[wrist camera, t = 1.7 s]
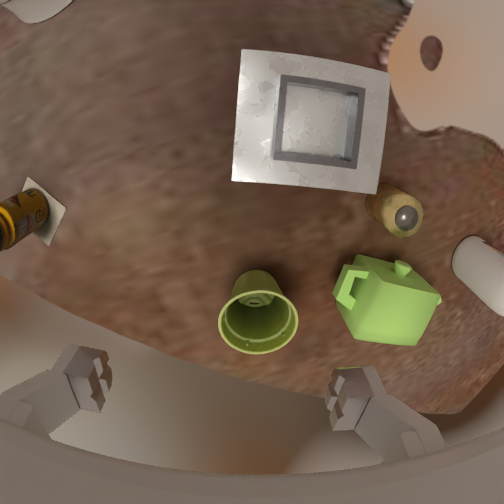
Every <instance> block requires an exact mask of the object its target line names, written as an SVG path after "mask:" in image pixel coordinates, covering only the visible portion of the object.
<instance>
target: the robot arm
mask: <svg viewBox="0 0 504 504" xmlns="http://www.w3.org/2000/svg"><path fill="white" fill-rule="evenodd" d="M72 1H73V0H0V5H2V6H4V7H5V8H7V9H9V10H10V11H12V12H13V13H14V14H15V15H16V16H17V17H18V18H19V19H20V20H21V21H23V22H26V23H37V22H41V21H44V20H46V19H49V18H50V17H52V16H54V15H56V14H57V13H59V12H60V11H61V10H63V9H64V8H65V7H66V6H67V5H68V4H70V3H71V2H72ZM108 360H109V358H108V355H107V352H106V351H103V350H98V349H94V348H89V347H84V346H78V345H74V344H69V345H67V347H66V348H65V350H64V351H63V353H62V354H61V356H60V357H59V359H58V360H57V362H56V363H55V365H54V366H53V368H52V369H51V370H46V371H44V372H42V373H40V374H38V375H36V376H34V377H32V378H30V379H28V380H26V381H24V382H22V383H20V384H18V385H16V386H14V387H12V388H10V389H8V390H6V391H4V392H2V394H1V395H0V504H504V427H503V428H501V429H498V430H496V431H493V432H491V433H488V434H486V435H483V436H481V437H478V438H475V439H473V440H470V441H467V442H464V443H461V444H458V445H455V446H452V447H448V448H447V446H446V444H445V442H444V440H443V438H442V436H441V434H440V432H439V430H438V428H437V426H436V425H435V424H434V423H432V422H431V421H429V420H427V419H426V418H424V417H423V416H421V415H420V414H418V413H417V412H415V411H414V410H412V409H411V408H409V407H408V406H406V405H405V404H403V403H402V402H400V401H399V400H398V399H396V398H395V397H393V396H392V395H387V393H386V391H385V389H384V386H383V384H382V382H381V380H380V378H379V376H378V374H377V372H376V370H375V368H374V367H373V366H362V367H345V368H334V369H333V370H332V373H331V379H332V381H331V382H330V383H329V384H328V385H327V388H326V394H325V401H326V406H327V408H328V409H329V410H330V411H331V414H330V417H329V418H330V421H331V425H332V429H333V431H335V430H352V429H355V431H356V432H357V433H358V434H359V435H360V436H361V437H362V438H363V439H364V440H365V441H366V442H367V443H368V444H369V445H370V446H371V447H372V448H373V449H374V450H375V451H376V452H377V453H378V454H379V455H380V456H381V457H382V458H383V461H382V462H381V464H378V465H373V466H367V467H360V468H353V469H346V470H338V471H329V472H318V473H304V474H283V475H240V474H219V473H206V472H196V471H187V470H179V469H171V468H164V467H157V466H152V465H146V464H140V463H136V462H131V461H126V460H122V459H117V458H113V457H108V456H105V455H100V454H97V453H93V452H90V451H86V450H83V449H79V448H76V447H73V446H69V445H66V444H63V443H60V442H57V441H54V440H52V439H51V438H50V436H49V433H51V432H52V431H54V430H55V429H56V428H57V427H59V426H60V425H61V424H63V423H64V422H65V421H67V420H68V419H69V418H70V417H72V416H73V415H74V414H75V413H77V412H78V411H79V410H80V409H83V410H87V411H92V412H97V413H100V412H101V410H102V408H103V405H104V403H105V397H104V395H105V394H106V393H108V392H109V391H110V388H111V385H112V371H111V368H110V367H109V366H108V365H107V362H108Z"/></svg>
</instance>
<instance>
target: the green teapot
mask: <svg viewBox="0 0 504 504" xmlns="http://www.w3.org/2000/svg"><path fill="white" fill-rule="evenodd" d="M333 295H334V297H335V298H336V306H337V308H338V310H339V312H340V313H341V315H342V317H343V319H344V321H345V323H346V324H347V326H348V328H349V330H350V332H351V334H352V335H353V337H354V339H358V340H364V341H371V342H378V343H386V344H395V345H408V346H415V345H416V343H417V342H418V340H419V339H420V337H421V336H422V334H423V332H424V330H425V329H426V327H427V325H428V323H429V321H430V319H431V317H432V314H433V312H434V310H435V308H436V306H437V305H438V304H440V303H441V302H442V300H441V296H440V294H439V293H438V292H437V291H436V290H435V289H434V288H433V287H432V286H431V285H430V284H429V283H427V282H426V281H425V280H424V279H423V278H422V277H421V276H420V275H419V274H417V273H416V272H415V271H414V270H413V269H412V267H411V266H410V265H409V264H407V263H405V262H403V261H400V260H395V263H391V262H387V261H384V260H380V259H376V258H372V257H368V256H364V255H360V254H357V255H356V257H355V259H354V261H353V263H352V265H347V264H344V265H343V268H342V271H341V273H340V275H339V278H338V280H337V283H336V285H335V288H334V290H333Z"/></svg>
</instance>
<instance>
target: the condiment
mask: <svg viewBox="0 0 504 504" xmlns="http://www.w3.org/2000/svg"><path fill="white" fill-rule="evenodd" d="M50 209H51V210H50ZM65 210H66V208H65V207H64V206H63V205H62V204H60V203H59V202H58V201H56V200H55V199H54V198H53V197H52V196H51V195H49V194H48V193H47V192H46V191H45V190H44V189H43V188H41V187H40V186H39V185H38V184H37V183H36V182H34V181H33V180H32V179H31V178H29V177H27V179H26V182H25V185H24V187H23V190H22V192H21V193H18V194H16V195H14V196H12V197H10V198H8V199H6V200H4V201H2V202H0V251H2V250H6V249H9V248H11V247H12V246H14V245H15V244H16V243H18V242H19V241H20V240H22V239H23V238H25V237H26V236H28V235H29V234H30V233H32V232H33V233H34V234H35V235H37V236H38V237H39V238H40V239H42V241H43V242H44V243H46V244H47V245H48V246H49V245H50V243H51V241H52V239H53V236H54V234H55V232H56V230H57V227H58V225H59V223H60V221H61V219H62V217H63V214H64V212H65ZM51 211H52V212H51Z"/></svg>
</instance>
